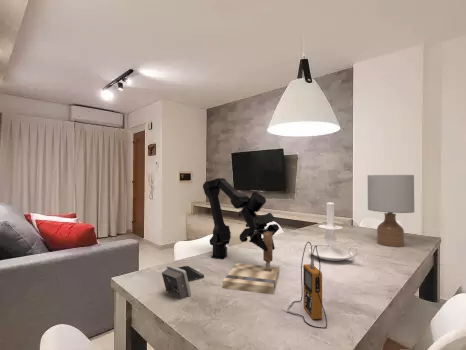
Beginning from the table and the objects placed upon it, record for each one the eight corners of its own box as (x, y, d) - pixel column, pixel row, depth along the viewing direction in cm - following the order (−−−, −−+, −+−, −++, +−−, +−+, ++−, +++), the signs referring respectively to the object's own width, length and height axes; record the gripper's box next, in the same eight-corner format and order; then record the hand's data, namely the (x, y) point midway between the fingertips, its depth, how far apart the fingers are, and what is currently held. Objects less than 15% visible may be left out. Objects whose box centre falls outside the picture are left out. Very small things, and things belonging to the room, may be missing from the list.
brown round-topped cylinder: (262, 268, 100) (262, 232, 100) (264, 265, 103) (264, 231, 103) (271, 269, 99) (271, 233, 99) (272, 266, 102) (273, 231, 102)
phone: (187, 265, 111) (205, 275, 99) (187, 268, 111) (205, 278, 99) (170, 269, 106) (187, 280, 95) (170, 271, 106) (187, 283, 95)
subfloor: (222, 287, 90) (222, 280, 90) (237, 269, 109) (237, 263, 109) (273, 294, 85) (273, 286, 85) (279, 273, 104) (279, 267, 104)
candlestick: (344, 271, 107) (343, 205, 108) (300, 256, 128) (299, 201, 129) (371, 262, 118) (370, 203, 119) (326, 250, 139) (326, 199, 140)
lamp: (361, 243, 154) (361, 175, 155) (376, 237, 170) (375, 175, 171) (408, 252, 136) (407, 174, 137) (419, 244, 152) (418, 175, 153)
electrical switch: (191, 296, 84) (189, 268, 83) (179, 303, 80) (177, 274, 79) (174, 288, 89) (172, 262, 89) (161, 295, 85) (159, 268, 85)
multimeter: (276, 302, 79) (276, 238, 80) (307, 301, 80) (307, 238, 81) (291, 330, 65) (291, 251, 65) (329, 328, 65) (328, 251, 66)
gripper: (244, 208, 99) (264, 242, 90) (276, 205, 110) (296, 235, 102) (231, 225, 105) (249, 258, 96) (263, 221, 116) (281, 250, 108)
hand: (270, 250), depth 100 cm, fingers closed on brown round-topped cylinder, 4 cm apart
